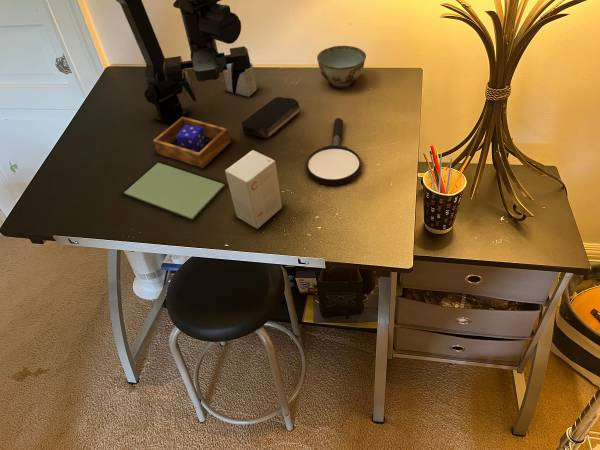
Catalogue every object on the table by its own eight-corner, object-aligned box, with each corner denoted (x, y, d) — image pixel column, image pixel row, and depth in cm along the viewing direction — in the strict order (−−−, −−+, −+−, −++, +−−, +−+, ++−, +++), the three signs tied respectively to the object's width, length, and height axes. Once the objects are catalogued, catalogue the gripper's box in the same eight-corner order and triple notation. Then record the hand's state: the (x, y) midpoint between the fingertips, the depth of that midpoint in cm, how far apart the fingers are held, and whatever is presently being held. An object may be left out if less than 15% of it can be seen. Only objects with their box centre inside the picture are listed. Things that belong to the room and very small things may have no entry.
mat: (124, 194, 106) (123, 192, 106) (158, 164, 113) (158, 162, 113) (192, 220, 99) (191, 218, 98) (224, 186, 106) (224, 184, 105)
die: (207, 143, 118) (202, 126, 114) (198, 154, 115) (193, 138, 111) (189, 140, 119) (184, 124, 116) (180, 152, 116) (175, 136, 112)
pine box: (157, 153, 116) (152, 140, 113) (186, 129, 123) (182, 116, 120) (203, 168, 111) (199, 155, 108) (230, 141, 118) (227, 128, 115)
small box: (261, 196, 102) (252, 148, 93) (282, 207, 99) (276, 159, 90) (235, 217, 98) (223, 170, 89) (257, 230, 95) (247, 182, 86)
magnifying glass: (363, 125, 118) (363, 117, 117) (359, 187, 102) (359, 179, 100) (314, 124, 120) (314, 117, 118) (303, 185, 104) (303, 178, 102)
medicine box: (257, 90, 134) (252, 62, 128) (248, 97, 132) (243, 69, 126) (236, 84, 138) (230, 57, 131) (226, 91, 135) (221, 64, 129)
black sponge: (265, 144, 116) (263, 131, 113) (240, 134, 120) (237, 122, 117) (303, 112, 124) (302, 100, 122) (278, 104, 128) (277, 92, 126)
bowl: (313, 93, 131) (312, 66, 125) (322, 70, 140) (321, 44, 134) (361, 95, 128) (362, 68, 122) (367, 72, 137) (368, 45, 131)
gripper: (153, 55, 90) (174, 123, 101) (247, 41, 92) (258, 109, 103) (155, 31, 98) (175, 97, 109) (242, 19, 99) (252, 85, 110)
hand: (214, 97), depth 108 cm, fingers open, 9 cm apart
